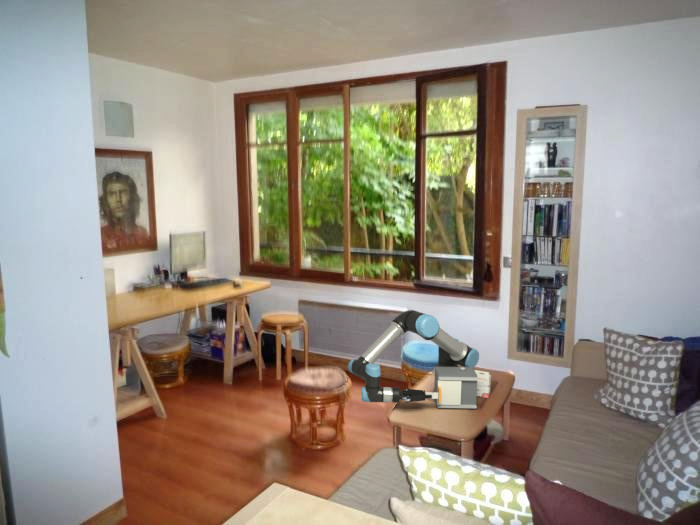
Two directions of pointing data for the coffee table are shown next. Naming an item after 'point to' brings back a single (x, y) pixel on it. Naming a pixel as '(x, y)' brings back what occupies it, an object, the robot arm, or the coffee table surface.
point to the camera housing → (467, 384)
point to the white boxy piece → (449, 392)
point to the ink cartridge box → (483, 384)
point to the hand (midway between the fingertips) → (438, 395)
